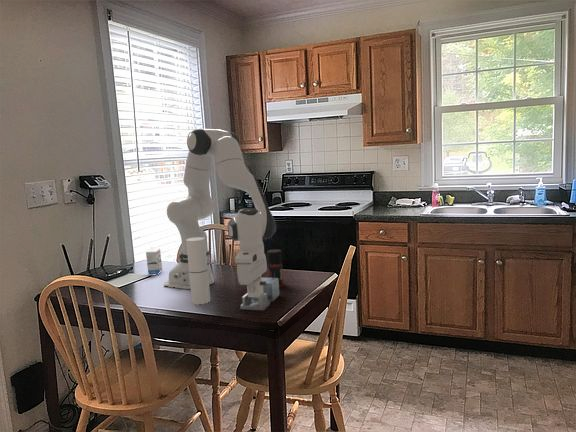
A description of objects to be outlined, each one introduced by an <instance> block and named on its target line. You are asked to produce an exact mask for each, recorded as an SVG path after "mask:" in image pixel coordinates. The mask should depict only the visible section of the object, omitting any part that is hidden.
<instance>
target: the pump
mask: <svg viewBox="0 0 576 432" xmlns="http://www.w3.org/2000/svg"><path fill="white" fill-rule="evenodd" d="M263 285H266V282H263V280H262V278H257V279H255V280H254V281H253V286H254V287H255V292H253V293H249V288H248V286H247V285H246V289H247V291H246V292H247V293H248V297H260V296H261V295H263V294H264V292H263ZM247 293H246V294H247Z"/></svg>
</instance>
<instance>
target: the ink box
mask: <svg viewBox="0 0 576 432" xmlns="http://www.w3.org/2000/svg"><path fill="white" fill-rule="evenodd" d="M145 256H146V265H147V271H148V272H147V273H148V275H149V274H158V273H159V272H160V271H161V270H162V271H163V264H162V255H161V248H150V249H148V250H147V251H146V252H145ZM159 274H160V273H159ZM159 274H158V275H159Z"/></svg>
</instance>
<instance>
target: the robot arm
mask: <svg viewBox="0 0 576 432" xmlns="http://www.w3.org/2000/svg"><path fill="white" fill-rule="evenodd" d="M238 136H239V135H237V134H236V133H234V132H232V131H230V130H222V129H218V128H217V129H215V128H212V129H211V128H201V127H200V128H193V129H192V130H190V132H189V133H188V134H187V138H186V145H187V148H188V153H187V157H186V160H185V161H186V162H185V168H184V173H183V178H182V179H183V185H184V186H186V188H187V190H188V195H187V197H183V198H182V197H181V198H177V199H176V200H174V201H171V202H170V203H168V205H167V207H166V215H167V218H168V220H169V221H170V222H171V223H172V224H174V225H175V227H176V228H177V231H178V233H179V235H180V239H181V246H182V253H181V254H179V255H178V256H177V257H178V258H177V259H179V262H178V263H177V264H175V265H174V267H172V269H171V270H170V271H169V273H168V279H167V280H166V281H165V282H164V283H163V287H164V286H168V287H167V288H173V287H175V288H174V289H182V290H191V287H190V277H189V266H188V256H187V245H186V239H189V238H195V237H204V238H205V245H206V256H207V268H208V279H209V286H210V285H212V284H214V283H215V279H214V275H213V272H212V268H211V256H210V251H209V246H208V236H207V233H206V231H204V230H202V228H201V227H200V224H199V221H201V220H205V219H207V218H209V217H210V216H212V215H213V214H214V212H215V209H216V203H215V201H214V199H213V198H212V197H211V192H210V183H211V176H212V170H213V169H212V168H213V163H214V161H215V169H216V172H217V173H216V174H217V176H218V179H219V180H220V181H221V183H223V184H224V185H225V186H227V187H230V188H233V189H237V190H240V191H243V192H246V193H247V194H248V195H249V196H250V198H251V200H252V202H253V203H252V204H253V205H254V208H251V207H246V208H245V207H244V208H242V209H239V210H238V212H237V215H236V216H234V217H231V218H230V219H229V221H227V222H228V223H227V234H228V237H229V238H230V239H231V240H232V241H234V242H239V246H238V247H239V250H238V252H237V254H236V256H235V257H234V262H235V264H237V265H236V273H237V280H238V283H239V286H240V285H241V286H246V287H247V286H248V288H249V293H253V292H255V287H254V286H253V281H254V280H255V279H257V278H261V277H262V275H263V274H264V273H266V272H267V271H268V260H267V255H266V253H265V245H264V241H263V240H268V239H269V240H270V239H271V238H272V237H273V235H275V233H276V231H277V224H276V223H277V222H276V219H275V218H274V216H273V214H272V212H271V210H270V207H269V205H268V203H267V200H266V198H265V195H264V192H263V189H262V187H261V185H260V183H259V180H258V178H257V177H256V175H255V174H252V173H251V172H250V171H249V169H248V167H247V166H246V164H245V160H244V156H243V152H242V149H241V147H240V140H239V137H238Z"/></svg>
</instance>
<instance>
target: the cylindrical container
mask: <svg viewBox="0 0 576 432" xmlns="http://www.w3.org/2000/svg"><path fill="white" fill-rule="evenodd" d="M186 245H187V256H188V266H189V277H190V287H191V289H190V297H191V304H193V305H196V306H197V305H198V306H199V304H201V305H205V303H206V304H208V302H209V303H210V302H211V292H210V291H211V290H210V285H209V279H208V268H207V256H206V245H205V238H204V237H195V238H189V239H186Z"/></svg>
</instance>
